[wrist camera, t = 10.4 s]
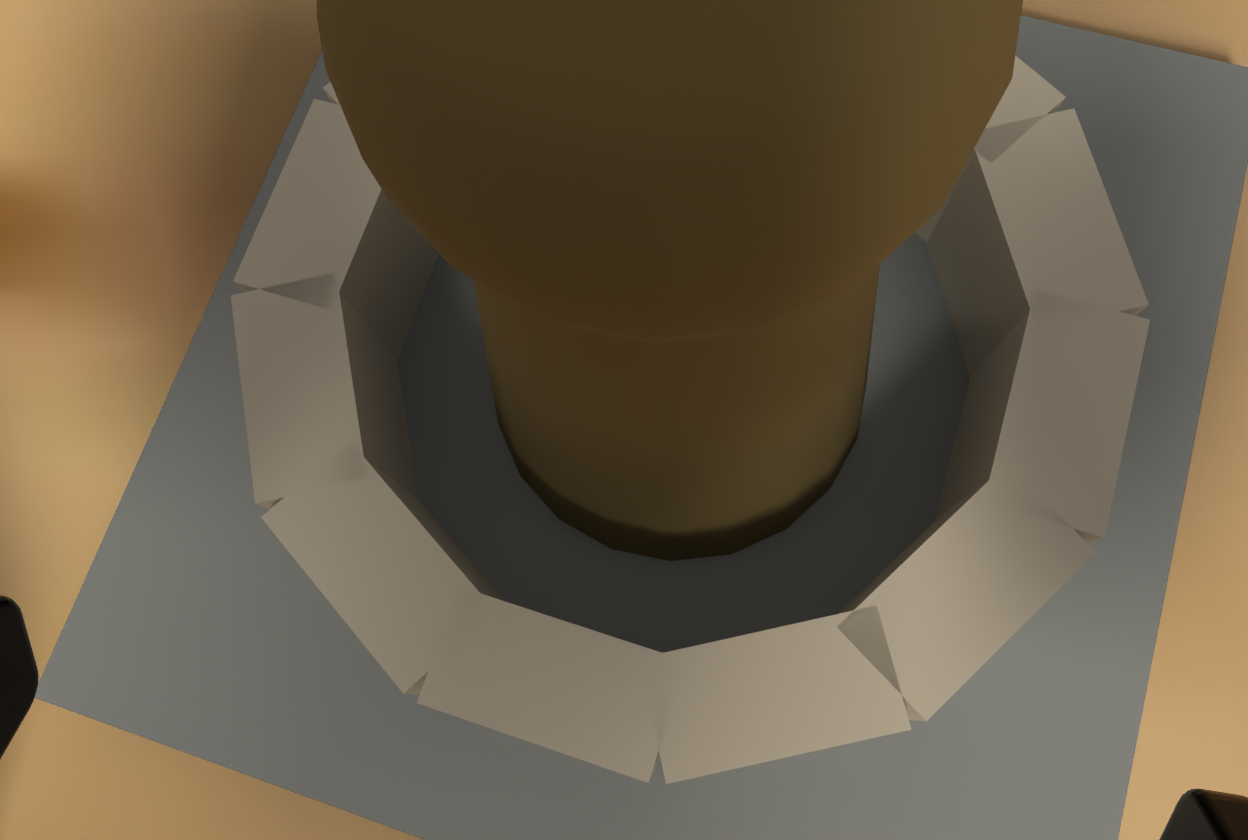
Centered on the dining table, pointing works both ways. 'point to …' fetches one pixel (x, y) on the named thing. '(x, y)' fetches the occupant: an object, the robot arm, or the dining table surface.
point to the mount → (700, 587)
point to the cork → (671, 224)
